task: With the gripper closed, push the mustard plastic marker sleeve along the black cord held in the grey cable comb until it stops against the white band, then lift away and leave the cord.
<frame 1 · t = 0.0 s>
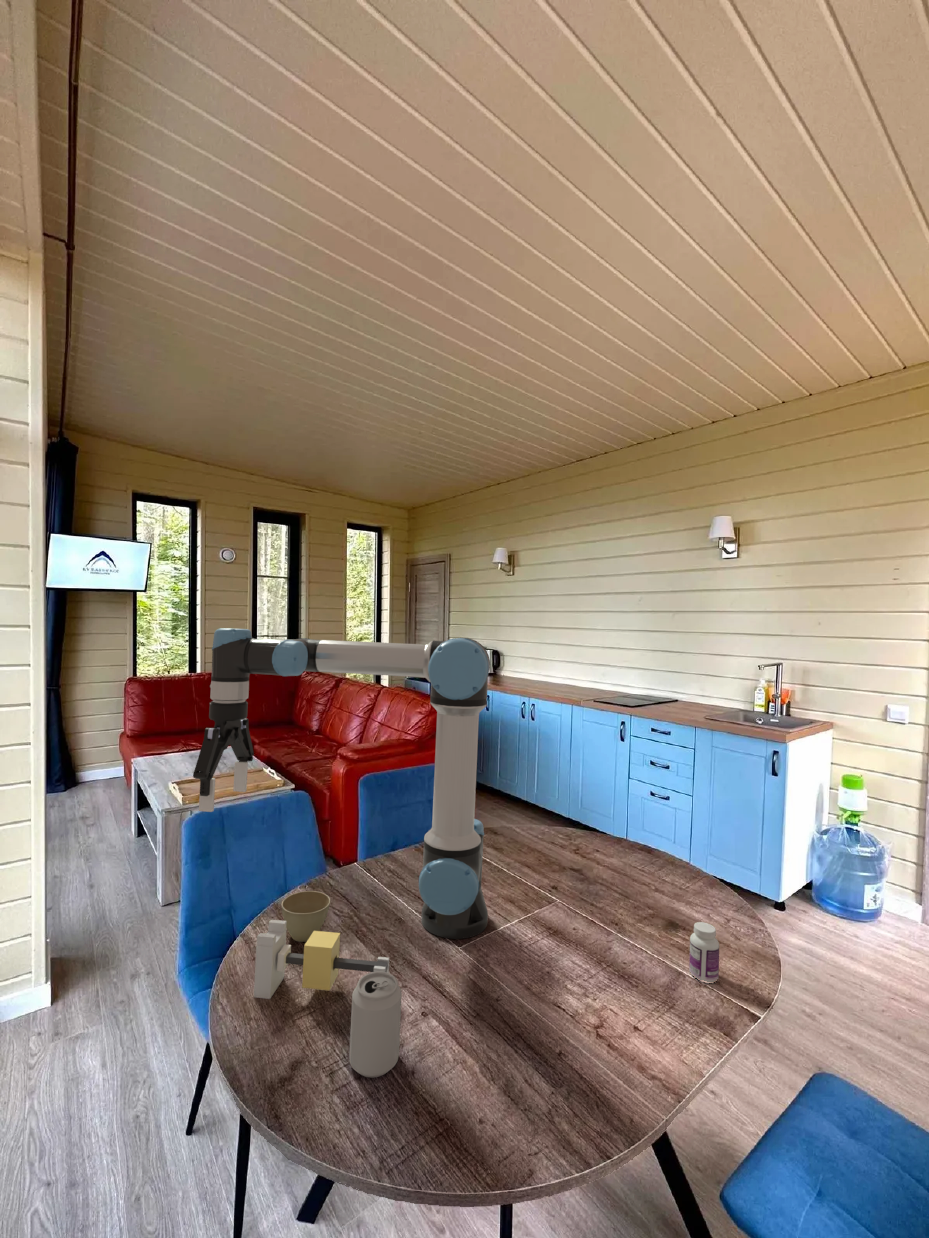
hand: (224, 800, 116), 28 cm above the table, fingers open, 13 cm apart
cord rig: (322, 992, 98), on the table
flower pot: (304, 936, 116), on the table
can: (373, 1062, 83), on the table
pill bottle: (703, 976, 108), on the table
sleeve: (321, 959, 99), point 6 cm above the table, slide at 0.0 cm
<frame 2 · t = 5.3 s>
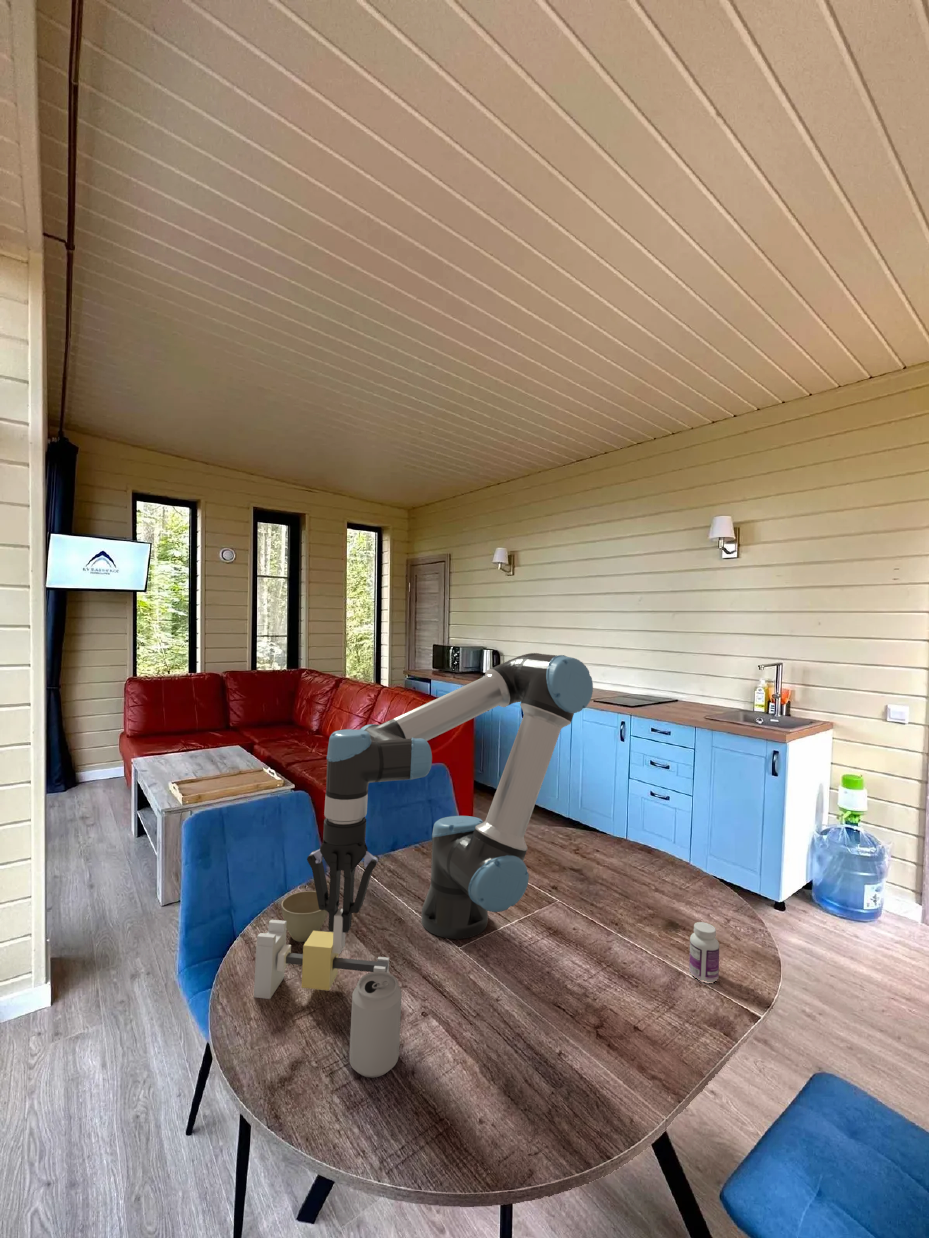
hand: (338, 948, 98), 8 cm above the table, fingers closed
sleeve: (320, 959, 99), point 6 cm above the table, slide at 0.1 cm, touching gripper
everything else where it was.
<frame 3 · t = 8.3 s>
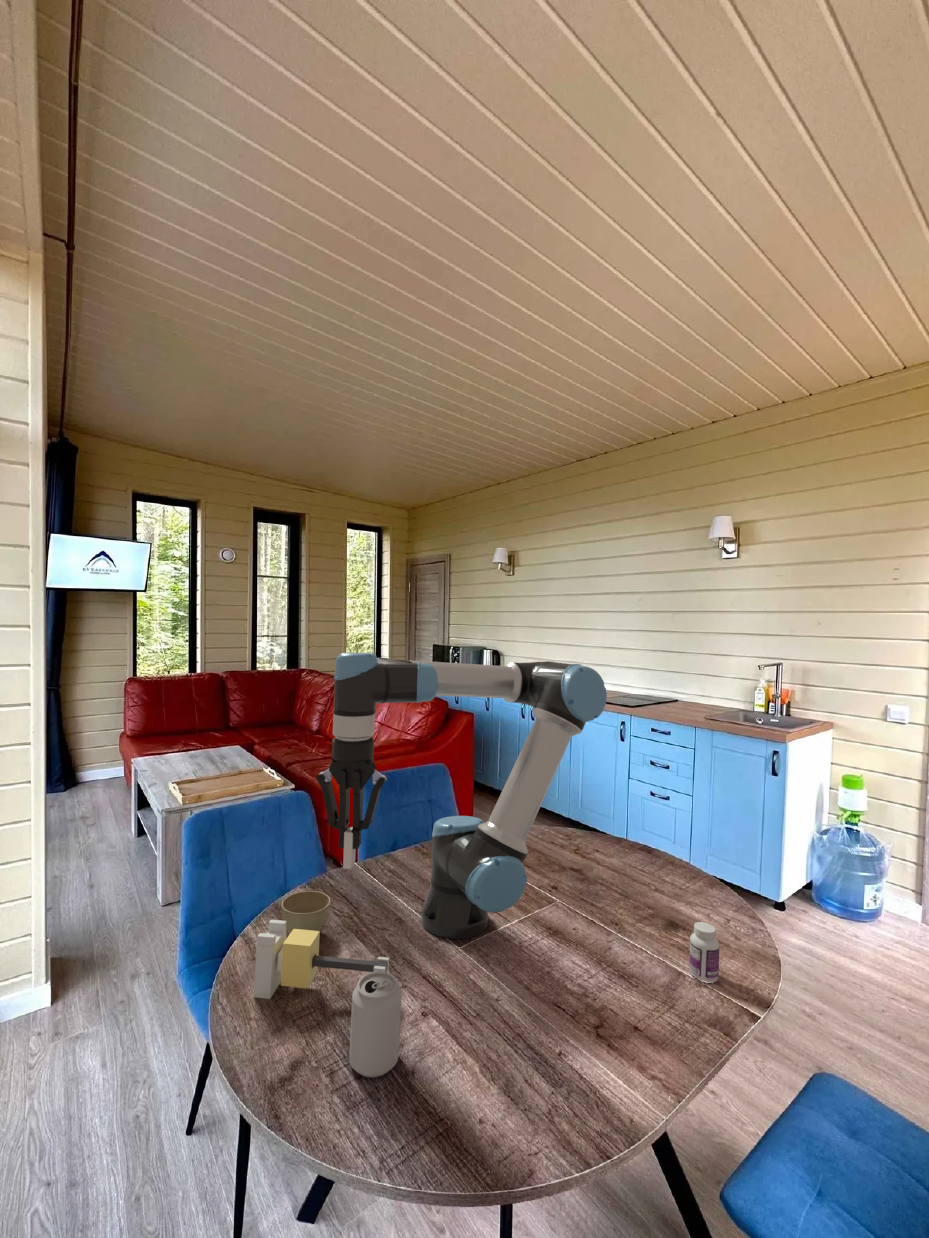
hand: (349, 865, 100), 22 cm above the table, fingers closed
sleeve: (300, 957, 99), point 6 cm above the table, slide at 3.9 cm, touching cord rig
everything else where it was.
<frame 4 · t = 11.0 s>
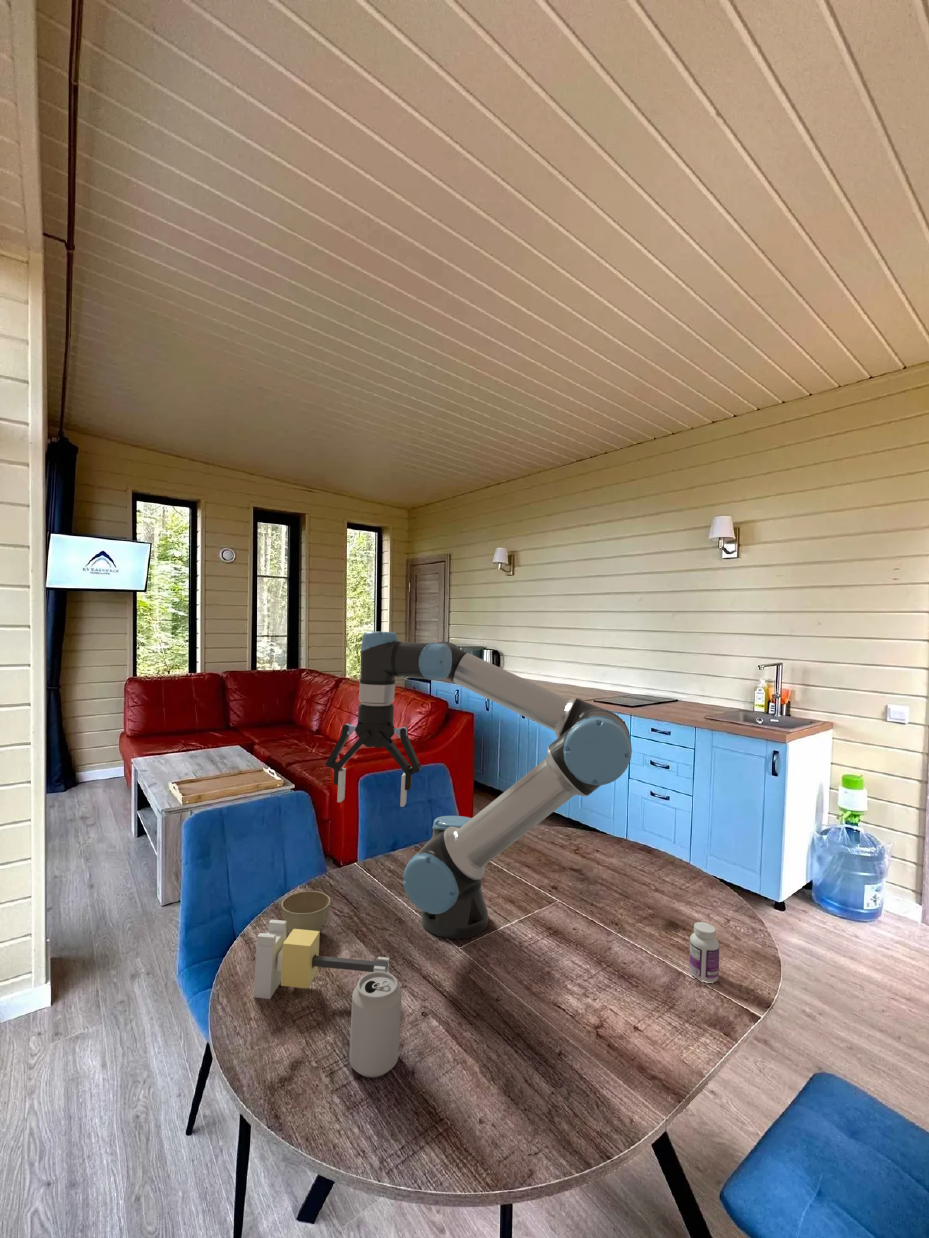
hand: (371, 802, 117), 29 cm above the table, fingers open, 13 cm apart
nothing on the table moved.
at the end: sleeve slide at 3.9 cm; the gripper is holding nothing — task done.
